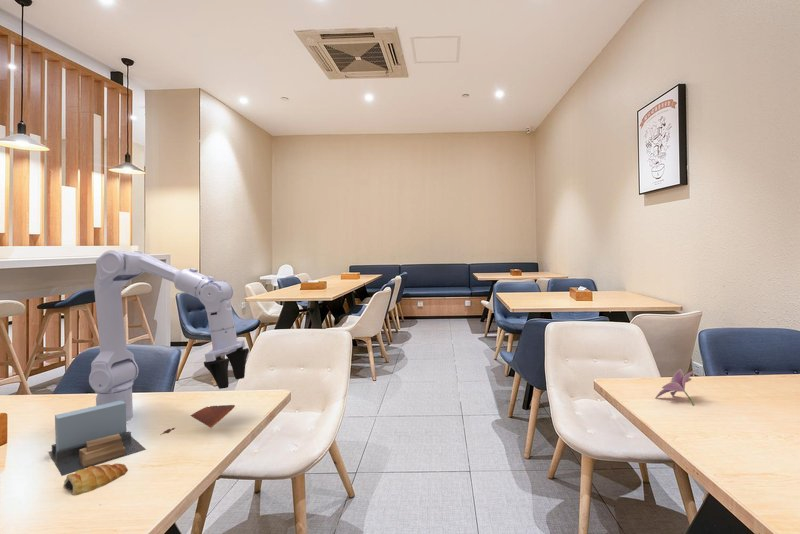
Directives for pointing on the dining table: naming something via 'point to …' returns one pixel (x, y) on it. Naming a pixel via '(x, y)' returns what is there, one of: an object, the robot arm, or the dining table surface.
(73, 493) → the pastry
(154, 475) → the dining table surface
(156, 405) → the dining table surface
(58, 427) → the pale blue upright panel
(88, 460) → the offcuts
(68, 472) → the metal plate
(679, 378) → the lily
